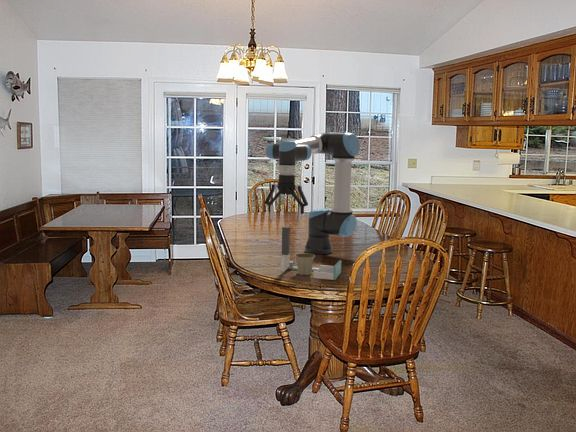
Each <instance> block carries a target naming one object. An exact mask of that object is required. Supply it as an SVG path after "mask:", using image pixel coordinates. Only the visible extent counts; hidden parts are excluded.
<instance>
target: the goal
mask: <svg viewBox="0 0 576 432" xmlns="http://www.w3.org/2000/svg"><path fill="white" fill-rule="evenodd" d="M340 274H342V260H341V259H339V260H338V261H336V263H335V264H334V265H325V264H320V265H319V272H318V271H313V279H318V280H319V279H320V280H332V281H336V280H337V278H338V277H339V276H340Z"/></svg>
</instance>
